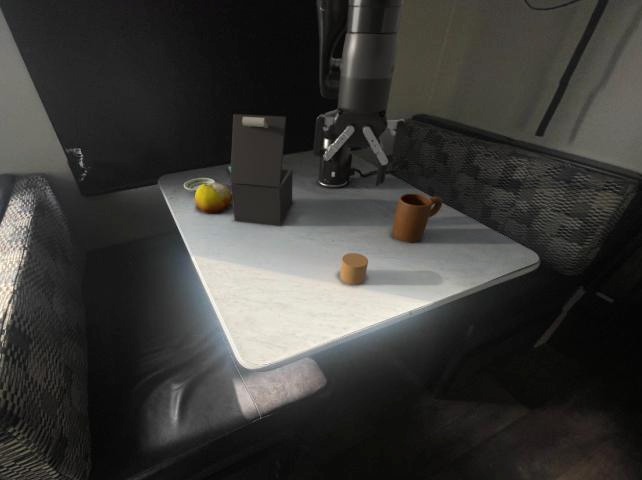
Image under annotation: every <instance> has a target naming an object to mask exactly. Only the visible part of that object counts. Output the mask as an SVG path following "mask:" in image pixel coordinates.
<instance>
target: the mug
mask: <svg viewBox="0 0 642 480" xmlns="http://www.w3.org/2000/svg"><path fill="white" fill-rule="evenodd" d="M442 207H443V199H442V198H441V197H440V196H432V197H428V196H426V195H423V194H421V193H420V194H419V193H405V194H402V195H400V197H399V198H398V202H397V205H396V210H395V214H394V217H393V218H394V219H393V223H392V228H391V234H392V236H393V238H395V239H396V240H398V241H401V242H404V243H415V242H419V241H421V240H422V238H423V236H424V234H425V231H426V227H427V224H428V221H429V218H431V217H434V216H435V215H436V214H437V213H439V211H440V210H441V208H442Z"/></svg>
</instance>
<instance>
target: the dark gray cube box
mask: <svg viewBox="0 0 642 480" xmlns="http://www.w3.org/2000/svg"><path fill="white" fill-rule="evenodd" d="M230 191H231V194H232V207H233V216H234V221H235V222H242V223H243V222H244V223H252V224H261V225H271V226H279V227H281V226H282V224H283V221H284V220H285V218H286V215H287V214H288V212H289V210H290V208H291V206H292V205H293V168H283V167H282V172H281V184H280V188H279V187H268V186H257V185H246V184H235V183H230Z"/></svg>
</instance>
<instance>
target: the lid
mask: <svg viewBox="0 0 642 480" xmlns="http://www.w3.org/2000/svg"><path fill="white" fill-rule="evenodd" d="M232 116H233V118H232V135H231V136H232V137H231V138H232V139H231V158H230V166H231V173H230V176H229V177H230V179H229V183H230V184H232V183H235V184H246V185H257V186H268V187H279V188H280V184H281V172H282V168H283V159H284V148H285V136H286V124H287V117H286V116H277V115H276V116H275V115H258V114H240V113H239V114H237V113H233V115H232Z"/></svg>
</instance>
